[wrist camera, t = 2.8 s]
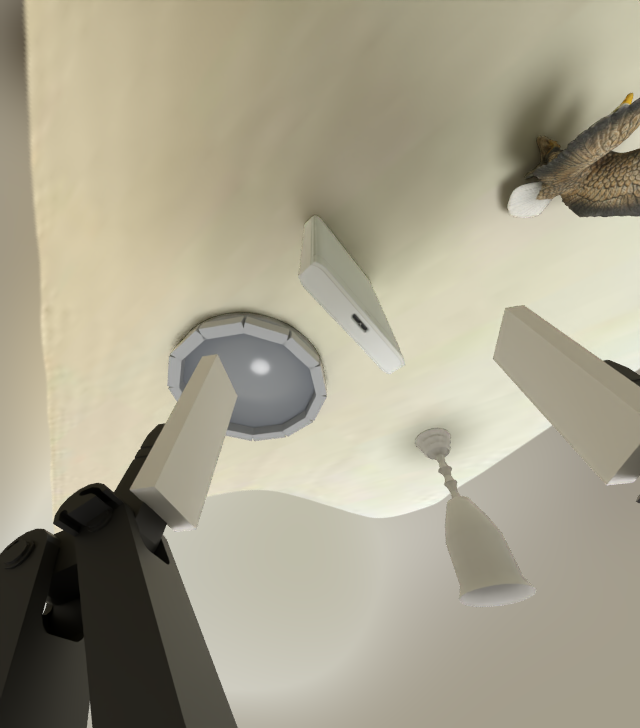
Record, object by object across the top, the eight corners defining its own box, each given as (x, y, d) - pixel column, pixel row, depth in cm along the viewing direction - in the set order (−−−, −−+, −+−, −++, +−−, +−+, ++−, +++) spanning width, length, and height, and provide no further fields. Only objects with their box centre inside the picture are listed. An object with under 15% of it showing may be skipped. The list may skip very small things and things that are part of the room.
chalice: (456, 450, 42) (529, 603, 28) (411, 458, 43) (458, 609, 29) (457, 418, 38) (543, 579, 24) (406, 428, 39) (459, 588, 25)
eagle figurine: (629, 110, 19) (813, 86, 12) (562, 223, 24) (669, 254, 16) (527, 89, 19) (659, 51, 12) (477, 209, 23) (550, 235, 16)
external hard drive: (316, 211, 23) (318, 257, 13) (373, 284, 27) (408, 363, 17) (302, 225, 23) (293, 280, 14) (359, 295, 27) (385, 377, 17)
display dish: (147, 327, 29) (135, 339, 27) (309, 299, 27) (308, 311, 26) (212, 432, 39) (207, 446, 37) (333, 416, 38) (334, 431, 36)
